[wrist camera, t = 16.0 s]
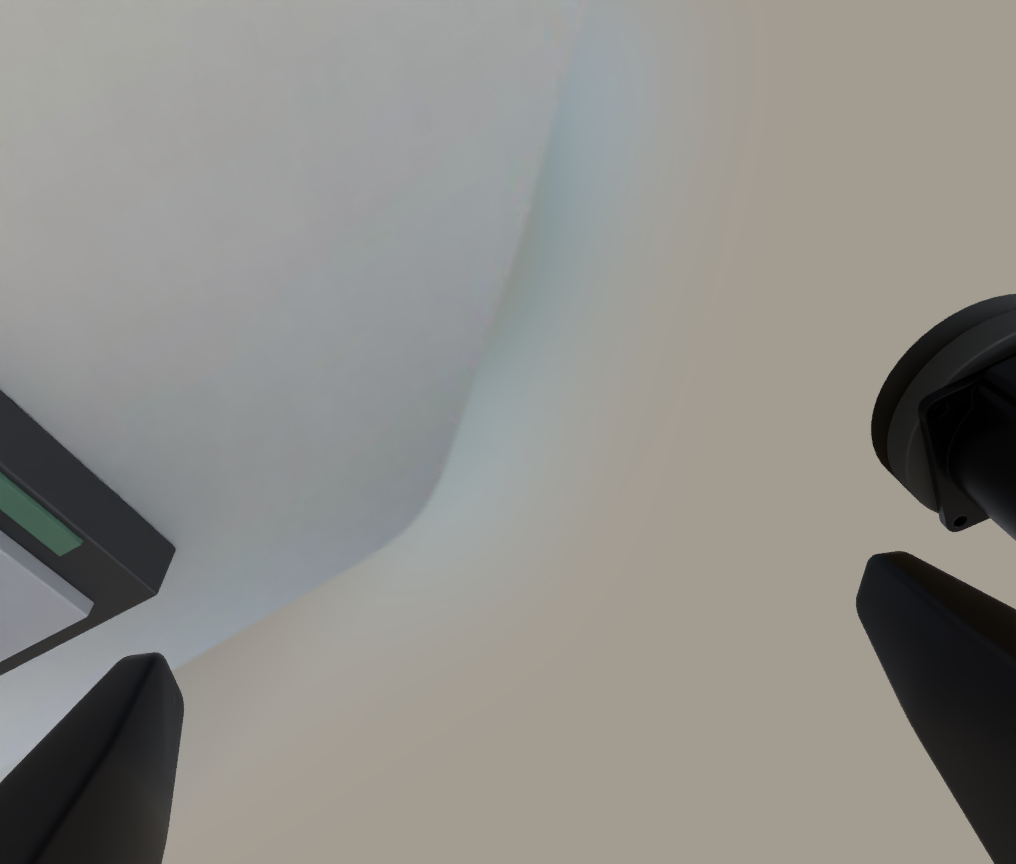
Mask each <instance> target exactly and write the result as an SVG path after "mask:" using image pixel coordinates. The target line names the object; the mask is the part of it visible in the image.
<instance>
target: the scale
mask: <svg viewBox="0 0 1016 864" xmlns="http://www.w3.org/2000/svg"><path fill="white" fill-rule="evenodd" d="M175 551H176V549H175V547H174V546H173V545H172V544H170V543H169V542H168V541H167V540H166V539H165V538H164V537H163V536H162V535H160V534H159V533H158V532H157V531H156V530H155V529H154V528H153V527H152V526H150V525H149V524H148V523H147V522H146V521H145V520H144V519H143V518H142V517H140V516H139V515H138V514H137V513H136V512H135V511H134V510H133V509H132V508H130V507H129V506H128V505H127V504H126V503H125V502H124V501H123V500H122V499H120V498H119V497H118V496H117V495H116V494H115V493H114V492H113V491H112V490H110V489H109V488H108V487H107V486H106V485H105V484H104V483H103V482H102V481H100V480H99V479H98V478H97V477H96V476H95V475H94V474H93V473H92V472H90V471H89V470H88V469H87V468H86V467H85V466H84V465H83V464H82V463H80V462H79V461H78V460H77V459H76V458H75V457H74V456H73V455H72V454H70V453H69V452H68V451H67V450H66V449H65V448H64V447H63V446H62V445H60V444H59V443H58V442H57V441H56V440H55V439H54V438H53V437H52V436H50V435H49V434H48V433H47V432H46V431H45V430H44V429H43V428H42V427H40V426H39V425H38V424H37V423H36V422H35V421H34V420H33V419H32V418H30V417H29V416H28V415H27V414H26V413H25V412H24V411H23V410H22V409H20V408H19V407H18V406H17V405H16V404H15V403H14V402H13V401H12V400H10V399H9V398H8V397H7V396H6V395H5V394H4V393H3V392H2V391H0V675H2V674H4V673H6V672H8V671H10V670H12V669H14V668H16V667H18V666H20V665H22V664H24V663H25V662H27V661H29V660H31V659H33V658H35V657H37V656H39V655H41V654H43V653H45V652H47V651H49V650H51V649H53V648H55V647H56V646H58V645H60V644H62V643H64V642H66V641H68V640H70V639H72V638H74V637H76V636H78V635H80V634H82V633H84V632H86V631H88V630H89V629H91V628H93V627H95V626H97V625H99V624H101V623H103V622H105V621H107V620H109V619H111V618H113V617H115V616H117V615H119V614H120V613H122V612H124V611H126V610H128V609H130V608H132V607H134V606H136V605H138V604H140V603H142V602H144V601H146V600H148V599H150V598H152V597H153V596H155V595H157V594H158V592H159V589H160V587H161V584H162V582H163V580H164V577H165V575H166V572H167V570H168V567H169V565H170V563H171V560H172V558H173V555H174V553H175Z"/></svg>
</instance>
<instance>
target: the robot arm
mask: <svg viewBox="0 0 1016 864" xmlns="http://www.w3.org/2000/svg"><path fill="white" fill-rule="evenodd" d="M938 405H939V406H938ZM937 406H938V407H937ZM935 407H937V408H936V409H935ZM934 409H935V410H934ZM918 416H919V421H920V426H921V431H922V436H923V440H924V445H925V450H926V455H927V460H928V465H929V469H930V474H931V479H932V484H933V489H934V494H935V499H936V503H937V508H938V513H939V518H940V521H941V523H942V524H943V525H944V526H945V527H946V528H947V529H948V530H949V531H952V532H958V531H961V530H964V529H966V528H968V527H971V526H973V525H975V524H977V523H980V522H982V521H984V520H987V519H989V518H991V519H992V520H993V521H994V522H995V523H997V524H998V525H999V526H1000V527H1001V528H1002V529H1003V530H1004V531H1006V532H1007V533H1008V534H1009V535H1010V536H1011V537H1012V538H1014V540H1016V353H1015V354H1013V355H1011V356H1008V357H1006V358H1004V359H1002V360H1000V361H998V362H996V363H994V364H991V365H989V366H987V367H985V368H983V369H981V370H979V371H977V372H974V373H972V374H970V375H968V376H966V377H964V378H962V379H960V380H958V381H955V382H953V383H951V384H949V385H947V386H945V387H943V388H941V389H938V390H936V391H934V392H932V393H930V394H928V395H927V396H925V397H924V398H923V399H922V400H921V401H920V403H919V405H918ZM856 608H857V613H858V616H859V618H860V620H861V623H862V624H863V627H864V629H865V631H866V633H867V635H868V637H869V639H870V641H871V644H872V646H873V648H874V650H875V652H876V654H877V656H878V658H879V660H880V663H881V665H882V667H883V669H884V671H885V673H886V675H887V677H888V679H889V681H890V684H891V686H892V688H893V690H894V692H895V694H896V696H897V698H898V700H899V702H900V704H901V707H902V708H903V710H904V712H905V714H906V716H907V718H908V720H909V722H910V724H911V726H912V727H913V729H914V731H915V733H916V734H917V736H918V738H919V740H920V741H921V743H922V745H923V746H924V748H925V750H926V751H927V753H928V755H929V756H930V758H931V760H932V761H933V763H934V765H935V766H936V768H937V769H938V771H939V773H940V774H941V776H942V778H943V779H944V781H945V782H946V784H947V786H948V788H949V789H950V791H951V793H952V794H953V796H954V798H955V799H956V801H957V802H958V804H959V806H960V808H961V809H962V811H963V813H964V814H965V816H966V818H967V819H968V821H969V823H970V824H971V826H972V828H973V829H974V831H975V833H976V834H977V836H978V837H979V839H980V841H981V842H982V844H983V846H984V847H985V849H986V851H987V852H988V854H989V856H990V857H991V859H992V861H993V862H994V864H1016V609H1014V608H1012V607H1010V606H1008V605H1006V604H1004V603H1003V602H1001V601H999V600H997V599H995V598H993V597H991V596H989V595H987V594H985V593H983V592H982V591H980V590H978V589H976V588H974V587H972V586H970V585H968V584H966V583H964V582H962V581H961V580H959V579H957V578H955V577H953V576H951V575H949V574H947V573H945V572H944V571H942V570H940V569H938V568H936V567H934V566H932V565H930V564H928V563H926V562H925V561H922V560H921V559H919V558H917V557H915V556H913V555H911V554H909V553H907V552H902V551H896V552H889V553H881V554H875V555H873V556H872V557H871V558H870V559H869V560H868V562H867V565H866V568H865V572H864V575H863V578H862V581H861V584H860V587H859V590H858V594H857V597H856ZM183 716H184V702H183V697H182V694H181V691H180V689H179V687H178V685H177V683H176V680H175V678H174V676H173V674H172V672H171V670H170V667H169V665H168V663H167V661H166V659H165V658H164V656H163V655H161V654H160V653H156V652H153V653H146V654H138V655H131V656H127V657H124V658H123V659H121V660H120V661H119V662H117V663H116V664H115V665H114V666H113V667H112V668H111V669H110V670H109V671H108V673H107V674H106V675H105V676H104V677H103V678H102V679H101V680H100V681H99V682H98V683H97V684H96V685H95V686H94V687H93V688H92V689H91V690H90V691H89V692H88V693H87V694H86V695H85V696H84V697H83V698H82V699H81V700H80V701H79V702H78V703H77V704H76V705H75V706H74V707H73V709H72V710H71V711H70V712H69V713H68V714H67V715H66V716H65V717H64V718H63V719H62V720H61V721H60V722H59V723H58V724H57V725H56V726H55V727H54V728H53V729H52V730H51V731H50V732H49V733H48V734H47V735H46V736H45V737H44V738H43V739H42V740H41V741H40V742H39V743H38V744H37V746H36V747H35V748H34V749H33V750H32V751H31V752H30V753H29V754H28V755H27V756H26V757H25V758H24V759H23V760H22V761H21V762H20V763H19V764H18V765H17V766H16V767H15V768H14V769H13V770H12V772H10V773H9V774H8V775H7V776H6V777H5V778H4V779H3V781H2V782H1V783H0V864H161V863H162V859H163V854H164V850H165V845H166V840H167V833H168V827H169V821H170V812H171V806H172V798H173V791H174V783H175V775H176V768H177V761H178V753H179V746H180V738H181V730H182V723H183Z"/></svg>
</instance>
